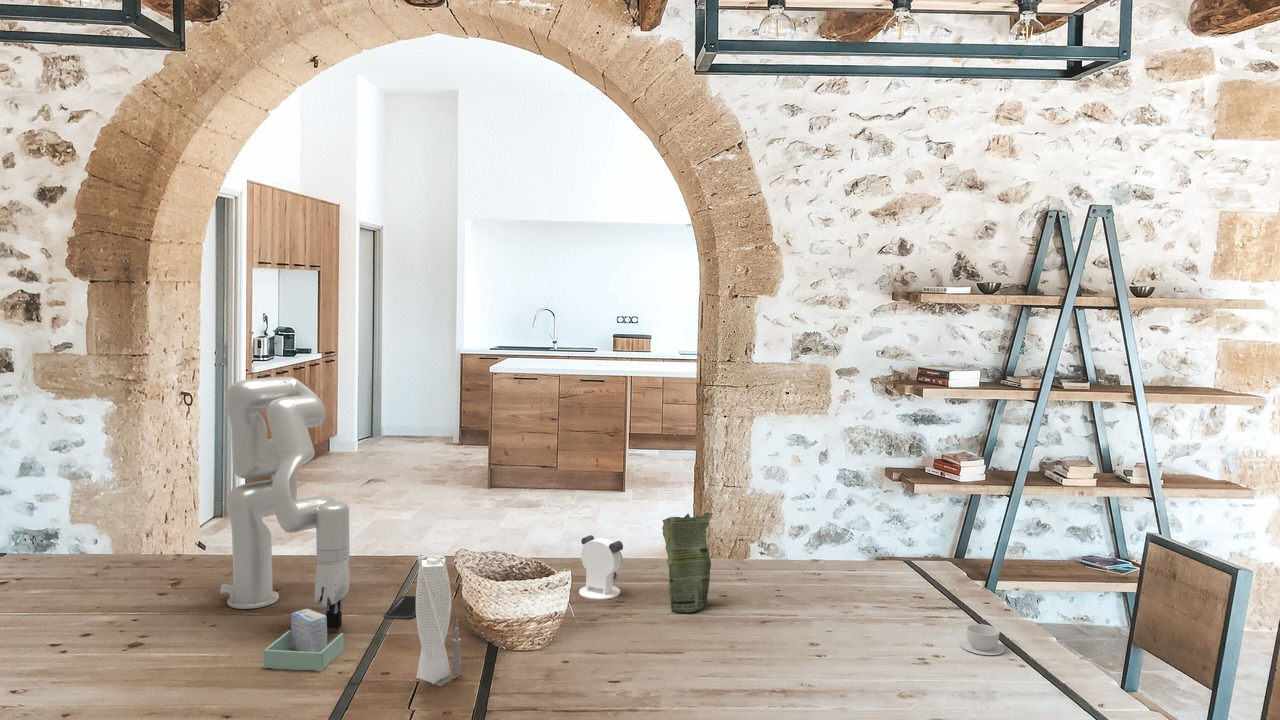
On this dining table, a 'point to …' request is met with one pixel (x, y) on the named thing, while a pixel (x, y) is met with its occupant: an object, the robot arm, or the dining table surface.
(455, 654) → the skyscraper
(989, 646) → the teacup
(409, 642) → the dining table surface
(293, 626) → the medicine box
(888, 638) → the dining table surface
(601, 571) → the panda figurine
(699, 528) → the pouch
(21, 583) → the dining table surface
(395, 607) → the phone
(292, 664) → the box
